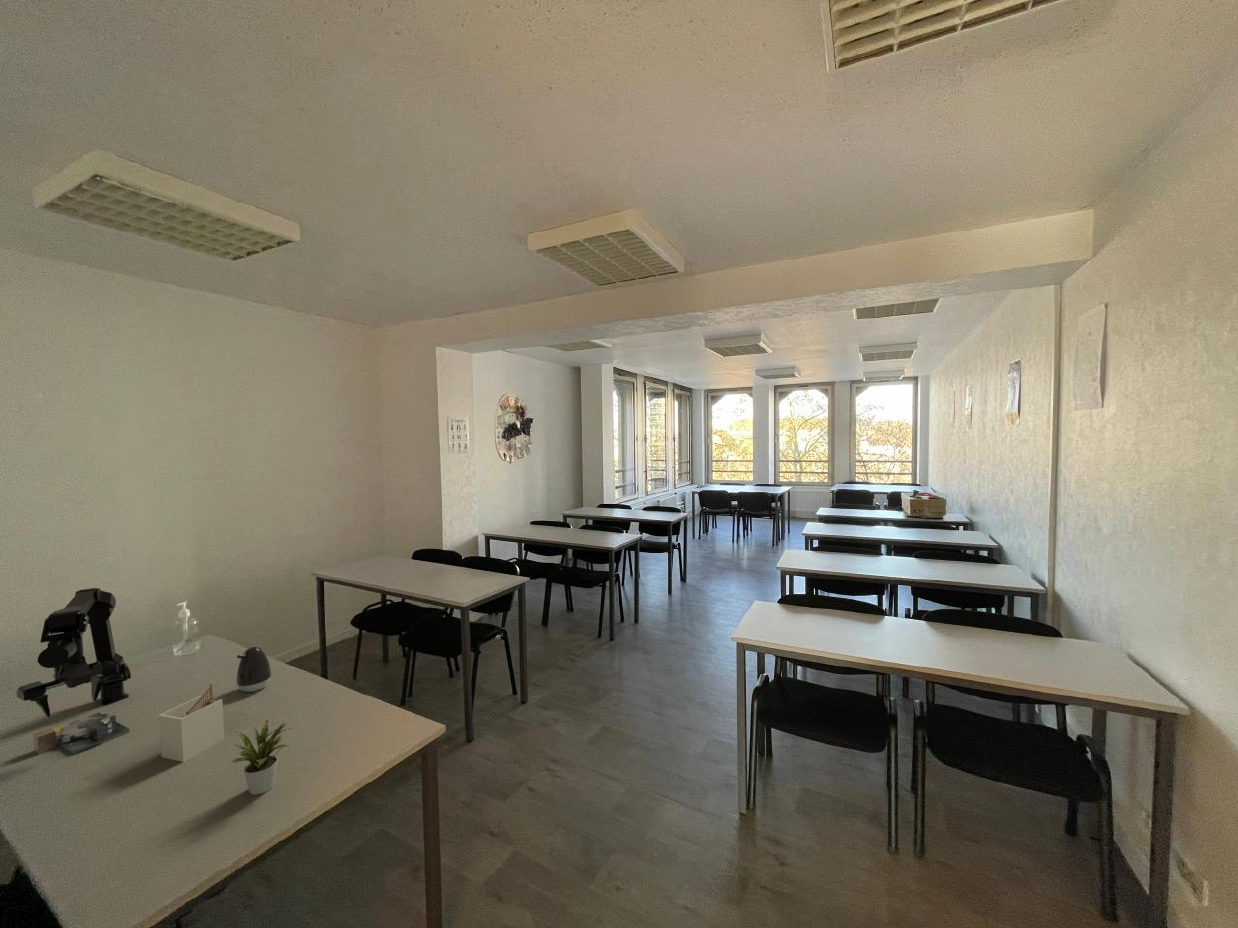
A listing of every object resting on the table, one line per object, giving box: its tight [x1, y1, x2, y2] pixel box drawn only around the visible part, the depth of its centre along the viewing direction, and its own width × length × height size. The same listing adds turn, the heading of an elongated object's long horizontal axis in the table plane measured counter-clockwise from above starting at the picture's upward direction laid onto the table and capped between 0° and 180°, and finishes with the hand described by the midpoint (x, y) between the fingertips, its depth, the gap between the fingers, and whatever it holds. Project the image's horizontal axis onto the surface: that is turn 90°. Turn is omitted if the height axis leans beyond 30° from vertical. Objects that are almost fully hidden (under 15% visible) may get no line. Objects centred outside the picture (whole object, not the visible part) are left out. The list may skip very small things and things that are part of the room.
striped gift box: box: [32, 728, 58, 756], centre depth 142 cm, size 4×4×5 cm
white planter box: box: [158, 683, 225, 763], centre depth 141 cm, size 9×11×17 cm
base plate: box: [52, 712, 130, 755], centre depth 150 cm, size 22×12×1 cm, turn 64°
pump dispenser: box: [235, 646, 273, 693], centre depth 175 cm, size 10×10×15 cm
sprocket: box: [56, 713, 117, 742], centre depth 148 cm, size 18×12×4 cm
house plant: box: [229, 717, 293, 796], centre depth 124 cm, size 14×14×16 cm
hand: (72, 708), depth 140 cm, fingers open, 9 cm apart
